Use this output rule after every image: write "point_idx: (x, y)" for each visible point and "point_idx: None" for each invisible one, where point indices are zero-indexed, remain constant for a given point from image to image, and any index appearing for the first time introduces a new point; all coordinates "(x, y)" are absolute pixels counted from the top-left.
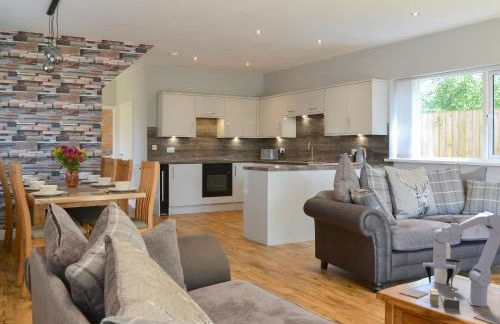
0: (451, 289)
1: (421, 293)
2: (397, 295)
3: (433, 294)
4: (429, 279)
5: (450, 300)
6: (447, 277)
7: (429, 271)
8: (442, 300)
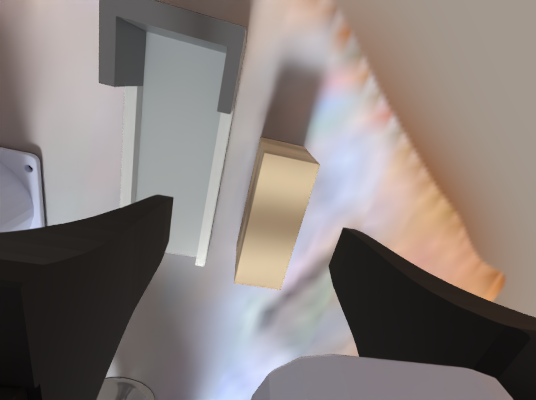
0: (122, 386)
1: (293, 314)
2: (437, 265)
3: (302, 160)
4: (380, 246)
5: (191, 12)
6: (132, 240)
7: (496, 311)
8: (217, 197)
